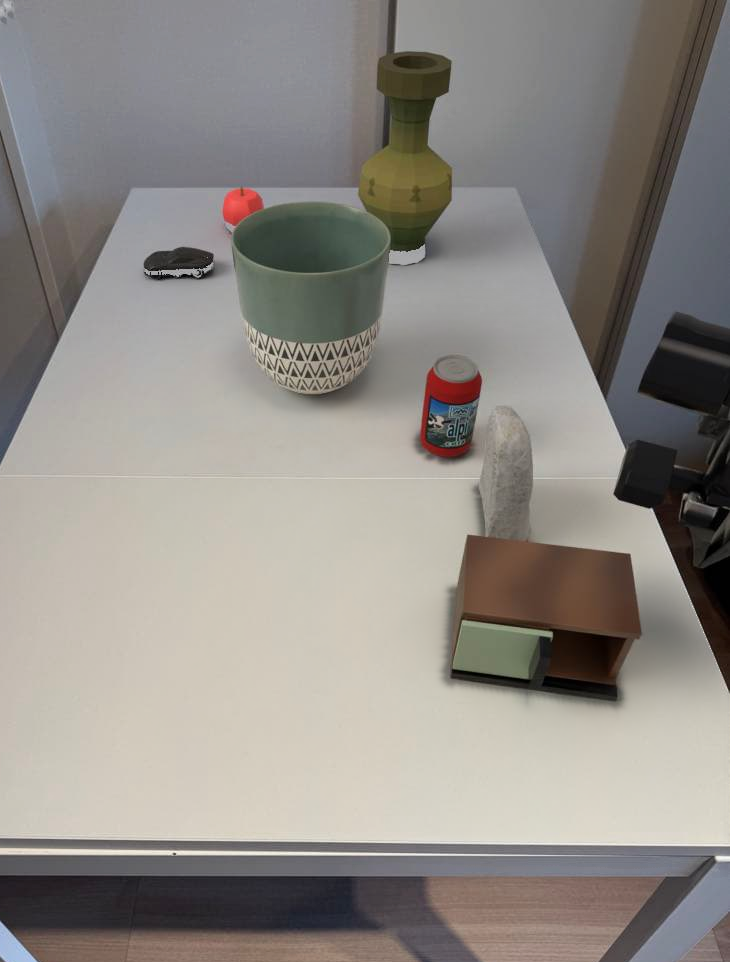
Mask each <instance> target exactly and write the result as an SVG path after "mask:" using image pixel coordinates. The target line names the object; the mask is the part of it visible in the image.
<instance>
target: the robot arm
mask: <svg viewBox="0 0 730 962" xmlns="http://www.w3.org/2000/svg"><path fill="white" fill-rule="evenodd" d="M636 395H637V396H640V397H643V398H647V399H651V400H653V401H657V402H658V403H659V402H660V403H663V404H666V405H669V406H673V407H676V408H679V409H681V410H684V411H689V412H692V413H695V414H697V415H699V417H698V419H697V422H696V424H695V435H696V436H698V437H702V438H707V439H710V440H712V445H711V446H710V449H709V451H708V453H707V455H706V459H705V460H706V461H705V465H707V466H708V469H707V471H706V472H704V471H700V470H696V469H692V468H687V467H684V466H681V465H678V464H676V459H677V454H678V449H677V448H672V447H669V446H665V445H661V444H658V443H657V444H656V443H653V442H649V441H646V440H641V439H636V440H634V441H632V442H629V444H628V445H627V447H626V450H625V452H624V454H623V457H622V460H621V463H620V468H619V471H618V475H617V479H616V482H615V486H614V490H613V492H612V495H613V496H614V498H616V499H617V500H618V501H619V502H624V503H627V504H630V505H634V506H638V507H642V508H645V509H649V510H650V509H654V508H656V507H660V506H663V503H664V502H665V499H666V497H667V495H668V492H669V490H670V491H673V492H677V493H681V494H682V498H681V503H680V509H679V515H678V522H679V523H680V524H681V525H682V526H685V527H688V528H689V529H690V530H689V531H690V534H691V537H692V542H693V567H696V568H699V569H705V568H707V567H709V566H711V565H713V564H715V563H717V562H719V561H721V560H724V559H726V558H728V557H730V511H729V512H728V514H727V516H726V517H725V518H724V520H723V522H721V524H720V526H719V527H718V528H717V525H718V516H719V510H720V509H726V510H730V328H729V327H726V326H722V325H718V324H715V323H711V322H707V321H704V320H701V319H699V318H697V317H695V316H693V315H690V314H688V313H684V312H679V311H674V312H672V314H671V316H670V317H669V319H668V321H667V323H666V326H665V328H664V330H663V333H662V336H661V338H660V340H659V343H658V344H657V346H656V348H655V349H654V352H653V354H652V356H651V358H650V359H649V361H648V363H647V365H646V367H645V369H644V371H643V374H642V377H641V379H640V382H639V385H638V388H637V392H636Z"/></svg>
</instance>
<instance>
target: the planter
mask: <svg viewBox="0 0 730 962" xmlns="http://www.w3.org/2000/svg"><path fill="white" fill-rule="evenodd" d="M230 243H231V251H232V260H233V266H234V267H233V268H234V273H235V278H236V285H237V286H236V287H237V292H238V300H239V306H240V313H241V318H242V319H241V321H242V325H243V331H244V335H245V340H246V343H247V346H248V348H249V351H250V353H251V356H252V358H253V360H254V362H255V363H256V365H257V366H258V368H259V369H260V371H262V373H263V374H264V375H265V376H266V377H267V378H268V379H270V380H271V381H272V382H274V383H275V384H276V385H278V386H280V387H282V388H284V389H286V390H289V391H291V392H295V393H299V394H305V395H321V394H327V393H330V392H333V391H336V390H338V389H341V388H342V387H344V386H346V385H348V384H349V383H350V382H352V381H354V380H355V379H356V378H357V377H358V376H359V375H360V374H361V373H362V372H363V371H364V370H365V368H366V367H367V365H368V364H369V362H370V360H371V358H372V356H373V353H374V351H375V349H376V346H377V343H378V339H379V336H380V330H381V324H382V323H381V322H382V315H383V307H384V302H385V301H384V300H385V293H386V292H385V291H386V283H387V276H388V268H389V264H388V262H389V253H390V243H391V236H390V232H389V230H388V228H387V226H386V225H385V224H384V223H383V222H382V221H381V220H380V219H379V218H377V217H376V216H374V215H372V214H370V213H368V212H367V211H366V210H364V209H362V208H359V207H355V206H353V205H352V206H351V205H347V204H344V203H337V202H331V201H311V200H309V201H294V202H285V203H281V204H275V205H272V206H267V207H264V209H262V210H259V211H257V212H254V213H252V214H250V215H249V216H247V217H245V218H244V219H243V220H241V221H240V222H239V223H238V224H237V225H236V227H235V228H234V230H233V232H231V236H230Z"/></svg>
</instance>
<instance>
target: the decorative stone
mask: <svg viewBox="0 0 730 962" xmlns="http://www.w3.org/2000/svg"><path fill="white" fill-rule="evenodd" d="M531 441H532V440H531V435H530V433H529V431H528V429H527V425H526V423H525V422H524V421H523V419H522V418H521V416H520V414H518V413H517V412H516V410H515V409H513V407H512V406H509V405H504V404H501V405H496V406H494V407H493V408H492V409H491V411H490V413H489V416H488V421H487V428H486V433H485V445H484V446H485V448H484V455H483V462H482V467H481V472H480V477H479V480H478V490H479V493H480V497H481V502H482V503H481V504H482V511H483V517H484V525H485V532H484V533H485V536H484V537H493V538H501V539H510V540H518V541H526V542H527V540H528V539H529V537H530V532H531V524H530V517H531V509H530V508H531V507H530V503H531V498H532V494H533V488H534V464H533V463H534V462H533V449H532V448H533V447H532V442H531Z"/></svg>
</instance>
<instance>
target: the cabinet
mask: <svg viewBox="0 0 730 962" xmlns="http://www.w3.org/2000/svg"><path fill="white" fill-rule="evenodd" d="M634 575H635V574H634V568H633V561H632V555H631V553H629V552H628V553H626V552H619V551H609V550H602V549H595V548H586V547H585V548H584V547H577V546H569V545H560V544H551V543H544V542H534V541H527V540H526V541H518V540H510V539H501V538H493V537H485V536H484V535H477V534H476V535H474V534H466V539H465V543H464V549H463V554H462V558H461V563H460V569H459V574H458V578H457V583H456V584H457V585H456V590H455V602H454V615H453V631H452V633H453V634H452V647H451V662H450V663H451V665H450V679H452V680H453V679H454V680H459V681H466V682H474V683H481V684H487V685H488V684H489V685H496V686H503V687H509V688H516V689H517V688H518V689H523V690H524V689H525V690H530V689H529V679H522V678H515V677H508V676H501V675H494V674H486V673H479V672H472V671H465V670H457V669H453V661H454V656H455V652H456V647H457V642H458V638H459V633H460V628H461V624H462V620H466V621H473V622H481V623H489V624H496V625H504V626H511V627H519V628H527V629H534V630H542V631H550V632H553V638H552V641H551V661H550V664H549V667H548V669H547V672H546V675H545V677H544V680H543V682H542V685H541V688H540V690H537V691H539V692H545V693H552V694H559V695H567V696H573V697H580V698H588V699H594V700H595V699H596V700H603V701H610V702H617V700H618V699H619V691H618V683H617V677H618V674H619V673H620V671H621V669H622V667H623V665H624V663H625V661H626V659H627V657H628V655H629V653H630V651H631V649H632V647H633V645H634V643H635V641H636V640H637V641H639V640H641V638H642V636H643V632H642V623H641V617H640V610H639V604H638V597H637V591H636V590H637V589H636V583H635V576H634Z"/></svg>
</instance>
